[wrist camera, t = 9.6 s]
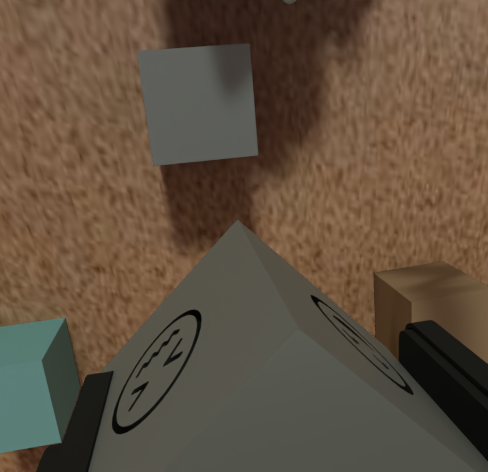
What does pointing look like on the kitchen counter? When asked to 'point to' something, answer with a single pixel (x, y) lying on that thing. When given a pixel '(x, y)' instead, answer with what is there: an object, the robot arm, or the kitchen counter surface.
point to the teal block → (36, 384)
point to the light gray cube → (199, 103)
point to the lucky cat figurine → (289, 1)
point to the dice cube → (266, 382)
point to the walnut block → (431, 304)
